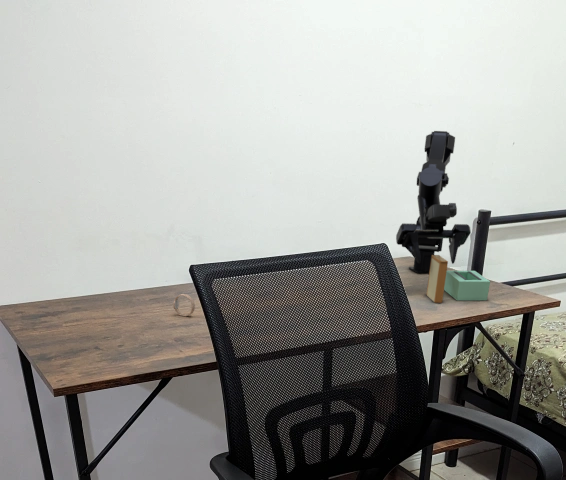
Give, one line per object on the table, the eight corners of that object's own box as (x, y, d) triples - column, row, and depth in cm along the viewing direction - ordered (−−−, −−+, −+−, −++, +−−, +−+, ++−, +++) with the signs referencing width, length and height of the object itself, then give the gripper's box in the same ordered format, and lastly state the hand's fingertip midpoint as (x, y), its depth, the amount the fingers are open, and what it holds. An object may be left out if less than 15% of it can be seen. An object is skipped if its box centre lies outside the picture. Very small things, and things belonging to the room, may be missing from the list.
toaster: (442, 288, 200) (445, 269, 198) (475, 288, 201) (478, 269, 199) (456, 300, 190) (459, 280, 187) (491, 300, 191) (494, 280, 189)
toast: (426, 295, 194) (431, 254, 189) (433, 295, 194) (439, 254, 189) (434, 302, 188) (440, 261, 182) (442, 302, 188) (448, 261, 182)
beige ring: (178, 313, 172) (177, 292, 170) (196, 315, 171) (195, 294, 168) (173, 316, 170) (172, 294, 168) (191, 318, 169) (190, 297, 166)
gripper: (404, 190, 183) (410, 243, 179) (474, 191, 185) (482, 244, 181) (393, 217, 193) (398, 269, 190) (459, 218, 196) (466, 269, 192)
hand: (436, 262), depth 188 cm, fingers open, 9 cm apart
